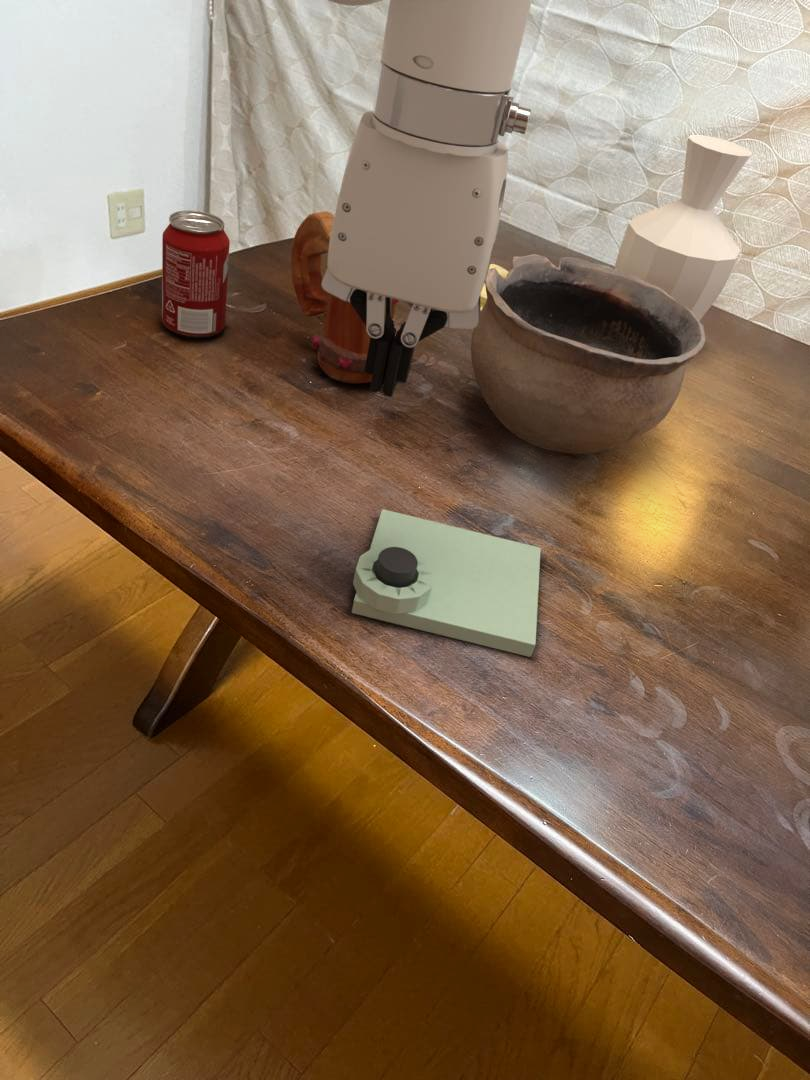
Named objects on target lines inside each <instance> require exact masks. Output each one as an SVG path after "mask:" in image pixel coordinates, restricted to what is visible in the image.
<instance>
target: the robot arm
mask: <svg viewBox="0 0 810 1080" xmlns="http://www.w3.org/2000/svg"><path fill="white" fill-rule="evenodd" d="M328 1H329V2H331V3H334V4H337V5H343V6H350V7H356V6H368V5H373V4H375V3H378V2H382V1H383V0H328ZM532 2H533V0H389V4H388V10H387V15H386V16H387V17H386V24H385V29H384V30H385V31H384V37H383V42H382V48H381V49H382V50H381V56H380V62H379V63H380V64H379V70H378V77H377V83H376V90H375V97H374V103H373V109H372V110H371V111H365V112H364V113H363V114H362V116H361V118H360V121H359V123H358V126H357V128H356V131H355V134H354V138H353V140H352V143H351V146H350V150H349V154H348V157H347V160H346V164H345V168H344V173H343V177H342V180H341V184H340V189H339V194H338V199H337V203H336V207H335V212H334V215H333V216H334V221H333V226H332V231H331V237H330V242H329V250H328V253H327V260H326V261H327V263H326V264H327V268H326V270H325V273H324V275H323V276H322V279H323V280H322V283H321V285H322V288H323V289H324V290H325V291H326V292H328V293H330V294H332V295H334V296H336V297H338V298H340V299H341V300H343V301H345V302H346V301H347V302H349V303H351V305H352V306H353V308H354V309H355V311H356V312H357V314H358V315H359V317H360V318H361V319H362V321H363V322H364V324H365V325H366V331H367V334H368V335H369V336H370V342H369V348H368V354H367V359H366V365H365V371H364V373H367V374H371V375H372V380H371V382H370V386H369V393H373V394H378V393H382V394H383V395H384V396H386V397H388V398H392V397H393V395H394V392H395V390H396V388H397V385H398V382H399V383H401V384H407V381H408V378H409V375H410V371H411V367H412V362H413V358H414V354H415V353H414V352H415V348H416V346H417V345H418V343H419V342H421V341H423V340H424V339H426V338H428V337H429V336H431V335H433V334H435V333H436V332H438V331H440V330H443V328H447V329H449V330H451V329H452V330H474V328H475V327H477V325H478V323H479V319H480V312H481V311H480V294H481V291H482V288H483V286H484V283H485V280H486V277H487V274H488V270H489V267H490V264H491V262H492V256H493V253H494V248H495V244H496V239H497V235H498V230H499V226H500V225H499V224H500V220H501V214H502V209H503V206H504V198H505V193H506V186H507V176H508V166H509V147H508V146H507V145H506V144H504V143H502V142H501V141H499V137H504V136H505V134H506V133H508V134H512V133H513V132H514V133H518V134H522V135H525V134H526V131H527V127H528V124H529V119H530V116H531V112H532V109H531V108H527V107H524V106H521V105H520V103H518V102H514V96H510V94H511V90H512V83H513V78H514V75H515V71H516V67H517V62H518V59H519V55H520V50H521V46H522V42H523V38H524V35H525V30H526V27H527V22H528V18H529V15H530V14H529V13H530V9H531V5H532ZM392 299H396V300H399V301H401V302H404V303H405V302H406V303H409V304H412V305H411V309H410V311H409V313H408V316H407V319H406V321H404V322H401V325H400V327H399V329H397V328H395V320H394V318H393V319H392V318H391V316H392Z"/></svg>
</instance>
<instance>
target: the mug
mask: <svg viewBox="0 0 810 1080" xmlns="http://www.w3.org/2000/svg"><path fill="white" fill-rule="evenodd" d="M334 216H335V215H334V214H333V213H331V212H329V211H320V212H314V213H310V214H308V215H307V216H306V217H305V218H304V219H303V221H302V222H301V223H300V225H299V226H298V228H297V229H296V232H295V234H294V237H293V238H294V239H293V242H292V246H291V259H290V265H291V267H290V269H291V278H292V284H293V288H294V291H295V295H296V298H297V301H298V303H299V305H300V307H301V310H302V312H303V314H304V315H305V316H306V317H307V318H309V317H315V316H317V315H321V314H325V313H326V314H325V319H324V322H322V324H320V326H319V329H318V331H317V335H315V336H314V337H312V338H311V345H312V347H313V348H314V349H316V350H317V362H318V365H319V367H320V368H321V369H322V371H323V372H324V374H326V375H327V376H328V377H329V378H331V379H333V380H335V381H338V382H341V383H344V384H350V385H351V384H366V383H367V384H368V383H371V380H372V375H371V374H367V373H364V371H365V365H366V359H367V354H368V348H369V342H370V336H369V335H368V334H367V331H366V325H365V324H364V322H363V321H362V319H361V318H360V317H359V315H358V314H357V312H356V311H355V309H354V308H353V306H352V305H351V303H349V302H347V301H346V302H345V301H343V300H341V299H340V298H338V297H336V296H334V295H332V294H330V293H328V292H326V291H325V290H324V289H323V288H322V285H321V283H322V280H323V275H322V255H325V254H328V250H329V242H330V237H331V231H332V226H333V221H334ZM399 301H400V300H396V299H392V316H391V318H392V319H393V320H394V317H395V312H396V305H397V303H398V302H399Z"/></svg>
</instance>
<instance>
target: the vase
mask: <svg viewBox="0 0 810 1080" xmlns="http://www.w3.org/2000/svg"><path fill="white" fill-rule="evenodd" d="M685 150H686V151H685V161H684V170H683V178H682V179H683V181H682V187H681V188H682V189H681V197H680V199H678V200H675V201H673V202H670V203H667V204H664V205H661V206H658V207H657V208H654V209H651V210H648V211H646V212H644V213H641V214H638V215H635V216H634V217H633V218H632V219H631V220H630V221H629V222H628V223H627V227H626V229H625V232H624V236H623V238H622V241H621V244H620V247H619V250H618V253H617V258H616V261H615V263H614V270H616V271H619V272H621V273H624V274H627V275H630V276H633V277H636V278H638V279H640V280H643V281H645V282H647V283H649V284H651V285H654V286H656V287H659V288H661V289H663V290H664V291H665V292H666V293H668V294H669V295H670V296H671V297H673V298H674V299H675V300H676V301H677V302H678V303H680V304H681V305H683V306H685V307H686V308H688V309H690V310H691V311H693V312H694V314H695V315H696V317H697V318H698V320H699V322H701V320H702V318H703V317H704V316H705V315H706V313H707V312H708V311H709V310H710V308H711V307H712V306H713V304H714V303H715V302H716V301H717V299H718V298H719V296H720V294H721V293H722V292H723V290H724V288H725V287H726V284H727V282H728V280H729V278H730V276H731V274H732V271H733V270H734V267H735V265H736V263H737V260H738V258H739V256H740V254H741V250H740V248H739V247H738V245H737V243H736V242H735V240H734V238H733V237H732V236H731V234H730V232H729V231H728V229H727V227H726V226H725V224H724V223H723V221H722V220H721V219H720V217H719V215H718V214H717V212H716V210H715V207H716V205H717V204H718V203H719V202H720V200H721V198H722V197H723V195H724V194H725V192H726V191H727V190H728V188H729V187H730V186H731V184H732V183H733V181H734V180H735V178H736V177H738V175H739V172H741V170H742V169H743V167H744V166H745V165H746V163H747V162H748V161H749V159H750V157H751V156H752V155H753V152H751V151H750V150H749V149H748V148H747V147H744V146H743V145H740V144H738V143H736V142H733V141H729V140H726V139H723V138H719V137H717V136H716V137H715V136H709V135H705V134H689V135H688V136H687V142H686V149H685Z"/></svg>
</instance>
